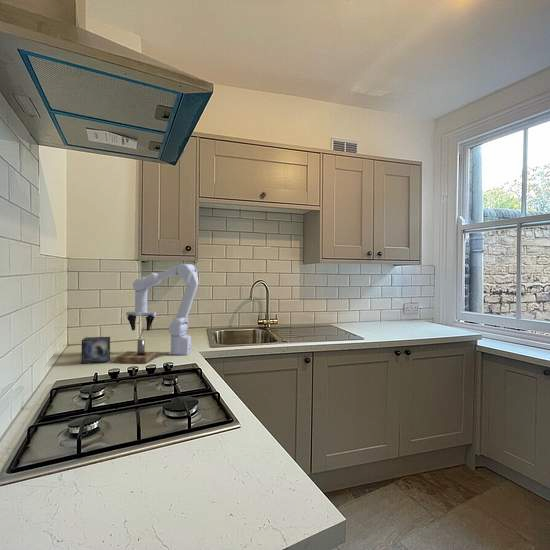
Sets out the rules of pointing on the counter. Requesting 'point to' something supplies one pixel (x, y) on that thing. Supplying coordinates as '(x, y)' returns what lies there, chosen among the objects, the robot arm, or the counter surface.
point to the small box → (95, 350)
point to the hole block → (135, 357)
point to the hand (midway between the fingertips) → (140, 330)
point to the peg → (141, 348)
